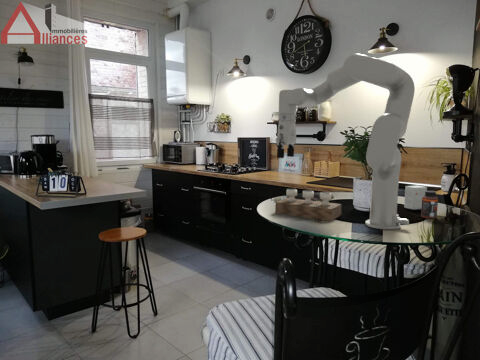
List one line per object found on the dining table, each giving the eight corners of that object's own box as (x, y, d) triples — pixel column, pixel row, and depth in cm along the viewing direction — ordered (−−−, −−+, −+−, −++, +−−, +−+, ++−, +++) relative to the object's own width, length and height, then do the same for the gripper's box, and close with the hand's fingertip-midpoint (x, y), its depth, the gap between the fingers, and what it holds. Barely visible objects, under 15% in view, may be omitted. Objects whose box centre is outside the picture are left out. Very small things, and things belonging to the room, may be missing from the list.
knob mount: (341, 215, 152) (341, 204, 152) (331, 221, 143) (331, 209, 142) (287, 208, 167) (287, 198, 166) (275, 212, 157) (275, 202, 157)
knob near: (332, 207, 150) (333, 192, 150) (328, 209, 146) (329, 193, 146) (322, 206, 153) (322, 191, 152) (317, 208, 149) (318, 192, 148)
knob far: (298, 203, 159) (298, 189, 159) (294, 205, 156) (294, 190, 155) (289, 202, 162) (289, 188, 161) (284, 204, 158) (284, 189, 157)
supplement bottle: (436, 219, 144) (438, 192, 143) (420, 218, 147) (422, 191, 146) (437, 217, 149) (438, 190, 148) (421, 215, 152) (423, 189, 151)
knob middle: (315, 205, 155) (315, 190, 154) (310, 207, 151) (311, 192, 150) (305, 204, 158) (305, 189, 157) (300, 206, 154) (300, 191, 153)
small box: (416, 206, 171) (418, 185, 170) (426, 208, 166) (427, 186, 165) (403, 207, 169) (404, 185, 167) (412, 209, 163) (414, 187, 162)
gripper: (285, 117, 145) (284, 158, 148) (302, 119, 160) (301, 156, 162) (269, 118, 150) (268, 157, 152) (288, 119, 164) (286, 155, 166)
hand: (285, 157), depth 157 cm, fingers open, 9 cm apart
